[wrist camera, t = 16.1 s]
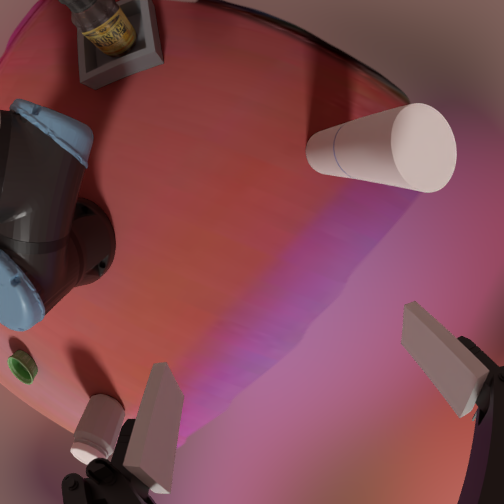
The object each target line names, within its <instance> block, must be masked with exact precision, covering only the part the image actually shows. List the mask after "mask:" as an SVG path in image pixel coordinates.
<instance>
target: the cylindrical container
mask: <svg viewBox="0 0 504 504" xmlns="http://www.w3.org/2000/svg"><path fill="white" fill-rule="evenodd" d="M456 154H457V152H456V143H455V139H454V135H453V133H452V130H451V128H450V126H449V124H448V123H447V121H446V120H445V118H444V117H443V116H442V115H441V114H440V113H439V112H438V111H437V110H436V109H434V108H433V107H431V106H428V105H426V104H421V103H415V104H410V105H406V106H402V107H398V108H394V109H390V110H387V111H383V112H379V113H376V114H372V115H369V116H366V117H362V118H359V119H356V120H353V121H349V122H346V123H343V124H340V125H337V126H334V127H331V128H328V129H325V130H322V131H319V132H317V133H315V134H314V135H312V136H311V138H310V139H309V141H308V142H307V145H306V157H307V160H308V162H309V164H310V165H311V167H312V168H313V169H314V170H316V171H317V172H319V173H322V174H326V175H333V176H340V177H347V178H353V179H359V180H365V181H371V182H376V183H381V184H386V185H392V186H397V187H402V188H407V189H412V190H416V191H421V192H426V193H429V192H435V191H438V190H440V189H441V188H443V187H444V186H445V185H446V184H447V183H448V181H449V180H450V178H451V177H452V174H453V172H454V169H455V165H456Z"/></svg>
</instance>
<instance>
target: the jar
mask: <svg viewBox="0 0 504 504" xmlns="http://www.w3.org/2000/svg"><path fill="white" fill-rule="evenodd" d="M124 417H125V412H124V409H123V407H122V405H121V404H120V403H119V402H118V401H117V400H116V399H114V398H112V397H110V396H108V395H104V394H97V395H94V396H91V398H90V400H89V402H88V404H87V406H86V409H85V411H84V413H83V415H82V417H81V419H80V421H79V424H78V426H77V428H76V430H75V433H74V437H75V440H74V443H73V445H72V447H71V450H70V451H71V453H72V454H73V456H74V457H76V458H77V459H78V460H79V461H81V462H83V463H84V464H86V465H88V464H89V462H91V461H92V460H93V459H96V458H105V459H107V458H108V457H109V455H111V454H112V453H113V451H114V448H115V445H116V441H117V438H118V435H119V432H120V429H121V426H122V423H123V420H124Z"/></svg>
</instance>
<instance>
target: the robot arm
mask: <svg viewBox="0 0 504 504" xmlns="http://www.w3.org/2000/svg"><path fill="white" fill-rule="evenodd" d="M9 109H10V111H5V110H0V323H1V324H3V325H4V326H6V327H7V328H9V329H12V330H15V331H25V330H28V329H30V328H31V327H33V326H34V325H35V324H36V323H38V322H40V321H42V320H43V318H44V316H45V315H46V314H47V313H48V312H49V311H50V310H51V309H52V308H53V307H54V306H55V305H56V304H57V303H58V302H59V301H60V300H61V299H62V298H63V297H64V296H65V295H66V294H68V293H69V292H70V291H71V290H72V289H73V288H74V287H77V286H82V285H87V284H90V283H93V282H95V281H96V280H98V279H99V278H100V277H101V276H102V275H103V274H105V273H106V271H107V270H108V269H109V268H110V266H111V264H112V262H113V259H114V255H115V235H114V231H113V228H112V225H111V223H110V221H109V219H108V217H107V216H106V214H105V213H104V212H103V210H102V209H101V208H100V207H99V206H97V205H96V204H95V203H93V202H92V201H90V200H87V199H84V198H78V194H79V191H80V187H81V183H82V179H83V176H84V172H85V169H87V168H88V163H87V162H88V158H89V155H90V151H91V148H92V144H93V139H94V136H93V132H92V130H91V129H90V127H89V126H87V125H86V124H84V123H82V122H80V121H78V120H76V119H73V118H71V117H69V116H66V115H64V114H62V113H59V112H57V111H54V110H51V109H49V108H46V107H42V106H40V105H37V104H34V103H32V102H29V101H26V100H23V99H16V100H15V101H14V102H13V104H11V105H10V108H9ZM401 344H402V345H403V346H404V347H405V349H406V350H407V351H408V352H409V354H410V355H411V356H412V357H413V359H414V360H415V361H416V362H417V363H418V365H419V366H420V367H421V368H422V370H423V371H424V372H425V373H426V375H427V376H428V377H429V378H430V380H431V381H432V382H433V384H434V385H435V386H436V387H437V389H438V390H439V391H440V393H441V394H442V395H443V397H444V398H445V399H446V401H447V402H448V403H449V405H450V406H451V407H452V408H453V410H454V411H455V413H456V414H457V415H458V417H459V418H461V417H463V416H464V415H466V414H467V413H469V412H470V411H472V408H473V406H474V404H475V403H476V404H477V406H478V409H477V411H476V413H475V414H474V416H473V419H472V421H474V419H475V418H476V424H475V431H474V438H473V443H472V449H471V454H470V459H469V464H468V468H467V472H466V477H465V480H464V484H463V487H462V491H461V494H460V497H459V501H458V504H504V366H502V367H499V366H497V365H496V364H495V363H494V362H493V361H492V360H491V359H490V358H489V357H488V356H487V355H486V354H485V353H484V352H483V351H481V349H480V348H479V347H477V346H476V345H475V344H474V343H473V342H472V341H471V340H470V339H468V338H465V337H463V336H460V337H458V338H456V337H455V336H453V335H452V334H451V333H450V332H449V331H448V330H447V329H446V328H445V327H444V326H443V325H441V324H440V323H439V322H438V321H437V320H436V319H435V318H434V317H433V316H432V315H430V314H429V313H428V312H427V311H426V310H425V309H424V308H422V307H421V306H420V305H419V304H418V303H417V302H416V301H414V302H411V303H408V304H405V305H404V316H403V330H402V340H401ZM183 400H184V395H183V393H182V391H181V390H180V388H179V386H178V384H177V382H176V380H175V378H174V376H173V374H172V372H171V370H170V369H169V367H168V365H167V362H163V363H155V364H153V367H152V370H151V373H150V376H149V379H148V382H147V385H146V388H145V391H144V394H143V398H142V401H141V404H140V407H139V411H138V414H137V417H136V419H128V420H127V421H126V422H125V423H124V425H123V426H122V428H121V431H120V434H119V437H118V440H117V443H116V447H115V450H114V453H113V457H112V460H111V462H109V461H108V460H107V459H105V458H96V459H93V460H92V461H91V462H89V464H88V465H87V468H86V474H87V476H88V477H89V478H84V479H83V478H82V477H81V476H80V475H78V474H76V473H71V474H68V475H67V476H66V477H64V479H63V481H62V495H63V502H64V504H156V503H155V502H154V500H153V499H152V498H151V496H149V495H148V491H149V489H151V490H152V491H153V492H155V493H164V494H170V493H171V484H172V476H173V468H174V460H175V453H176V446H177V439H178V432H179V426H180V419H181V413H182V407H183Z"/></svg>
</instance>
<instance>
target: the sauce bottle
mask: <svg viewBox="0 0 504 504" xmlns="http://www.w3.org/2000/svg"><path fill="white" fill-rule="evenodd" d="M59 1H60V3H62V4H65V5H66V6H68V8H70V10H71V11H72V18H71V20H72V23H73V24H74V25H75V26H76V27H77V28H78V29H79V31H80V32H81V33H82V34H83V35H84V36H85V37H86V38H88V39H89V40H90V41H91V42H92V43H93V44H94V45H95V46H96V47H98V48H99V49H100V50H101V51H102V52H103V53H104V54H106V55H108V56H110V57H120V56H123V55H125V54H127V53H128V52H129V51H130V50H131V49H132V48H133V47H134V46H135V44H136V40H137V34H136V31H135V29H134V27H133V26H132V24H131V23H130V22H129V20H128V19H127V17H126V16H125V14H124V13H123V11H122V10H121V8H120V7H119V5H118V4H117V3H116V2H115V0H59Z"/></svg>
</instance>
